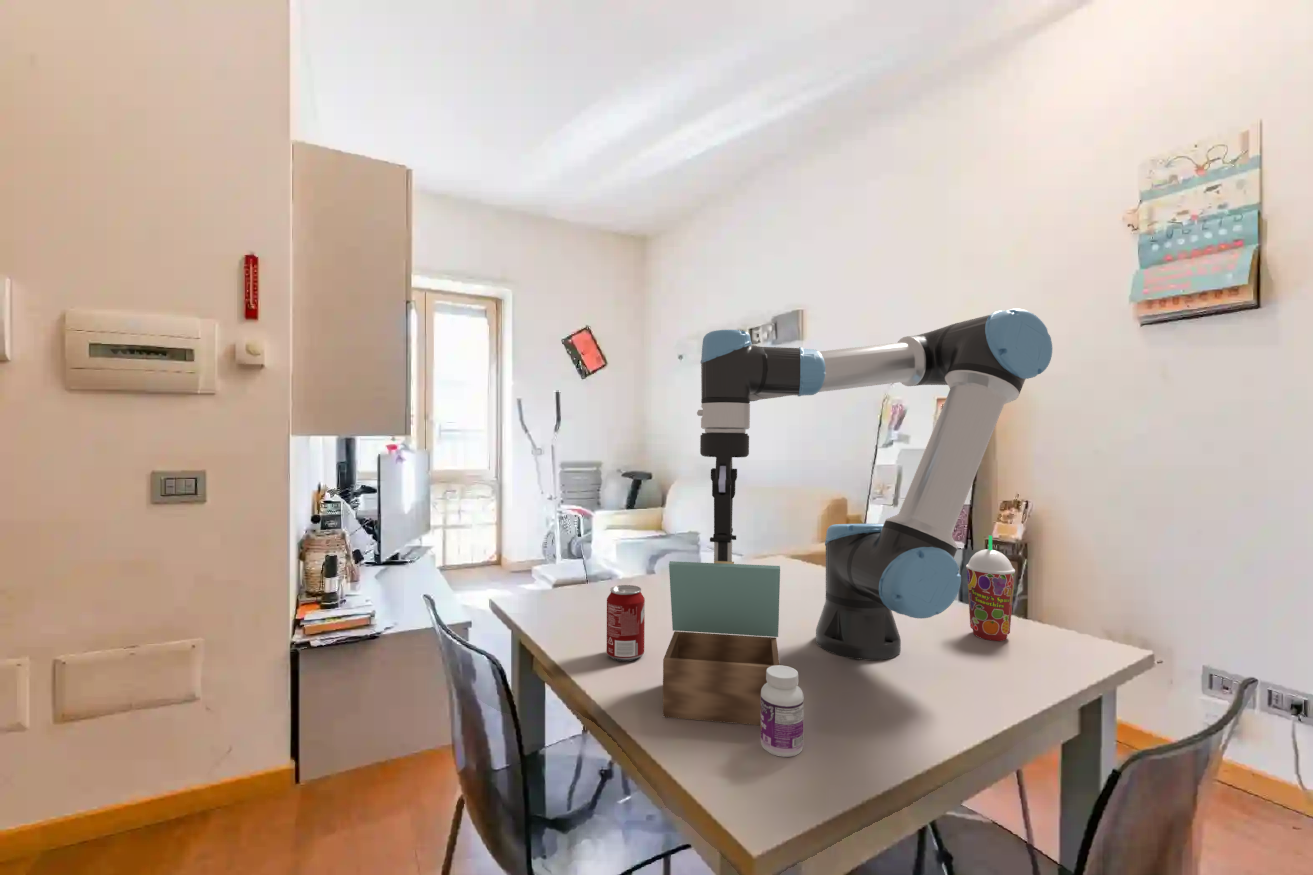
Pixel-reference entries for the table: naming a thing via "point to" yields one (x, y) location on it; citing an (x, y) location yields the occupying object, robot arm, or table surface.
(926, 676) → the table surface
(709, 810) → the table surface
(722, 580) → the lid
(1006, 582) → the smoothie
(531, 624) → the table surface
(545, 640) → the table surface
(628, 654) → the soda can
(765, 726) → the pill bottle
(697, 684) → the keepsake box
